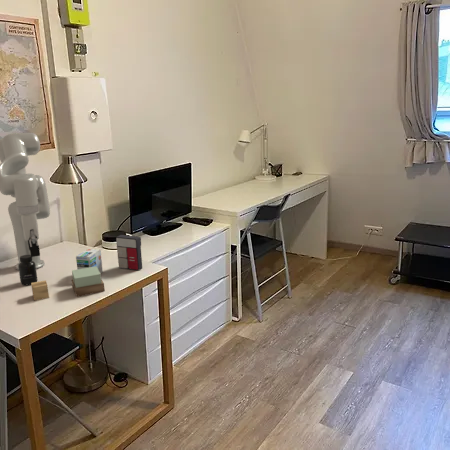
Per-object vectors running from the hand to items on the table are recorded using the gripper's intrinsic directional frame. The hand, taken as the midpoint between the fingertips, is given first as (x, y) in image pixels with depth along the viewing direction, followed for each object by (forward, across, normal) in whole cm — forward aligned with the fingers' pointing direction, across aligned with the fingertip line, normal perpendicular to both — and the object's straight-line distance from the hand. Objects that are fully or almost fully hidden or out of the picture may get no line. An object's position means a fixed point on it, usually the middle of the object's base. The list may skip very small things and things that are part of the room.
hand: (34, 252), depth 178 cm
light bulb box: (+19, -14, +22) cm, 32 cm away
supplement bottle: (+18, -19, -3) cm, 26 cm away
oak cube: (+19, -1, 0) cm, 19 cm away
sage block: (+15, +2, +18) cm, 24 cm away
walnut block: (+19, +2, +18) cm, 26 cm away
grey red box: (+19, -13, +40) cm, 46 cm away
